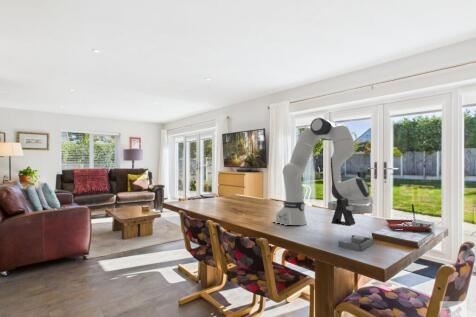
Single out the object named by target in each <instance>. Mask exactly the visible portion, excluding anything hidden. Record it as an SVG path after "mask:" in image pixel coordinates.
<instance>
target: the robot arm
mask: <svg viewBox="0 0 476 317" xmlns="http://www.w3.org/2000/svg"><path fill="white" fill-rule="evenodd" d="M348 127H349V126H348V125H345V124H335V123H333V122H332V121H331V120H328V119H326V118H324V117H316V118H314V119H313V120H312V121H311V123H310V126H306V127H305V128H304V129H303V130H302V132H301V134H300V135H299V137H298V139H297V141H296V143H295V146H294V148H293V151H292V154H291V158H290V160H289V163H287V164H285V165H284V166H283V169H282V174H283V175H282V176H283V183H284V188H285V201H284V202H283V207H282V208H281V209H279V211H277V212H276V214H275V219H274V220H275V221H274V222H277V223H281V224H284V225H283V226H285V225H300V226H305V224H306V225H307V224H308V222H307V220H306V214H305V201H304V187H303V182H302V177H303V175H304V173H305V171H306V168H307V166H308V163H309V160H310V157H311V155H312V153H313V151H314V149H315V147H316V145H317V142H318V141H319V140H322V141H331V143H332V146H333V153H332V155H331V157H330V174H331V194H332V197H333V199H335V200H331V201H328V202H327V209H329V210H334V211H335V210H336V206H337V200H338V199H341V198H347V199H348V200H349V202H348V204H349V206H347V207H346V210H351V212H352V215H357V214H373V204H374V200H373V197H372V196H371V195H370V188H369V184H368V183H367V181H366V180H364V179H363V178H362V177H360V176H356V177H352V178H350V179H346V180H343V181H342V173H341V168H342V167H343V164H344V163H345V162H347V161H348V159H350V158H351V157H352V156H353V155H354V153H355V151H356V146H355V145H356V144H355V142H354V141H355V140H354V138H353V136H352V133H351V131H350V129H349V128H348ZM340 210H342V209H341V207H340ZM277 223H276V224H277ZM281 224H280V225H281Z"/></svg>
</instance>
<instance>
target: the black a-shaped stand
mask: <svg viewBox="0 0 476 317" xmlns="http://www.w3.org/2000/svg"><path fill="white" fill-rule="evenodd" d="M336 201H337V206H336V210H335V209H334V214H333V217H332V220H331V224H332V225H338V226H339V225H341V226H346V227H351V226H355V225H356V221H355V218H354V214H352V212H351V210H346V207H347V206H349V204H348V202H349V200H348V199H347V198H341V199H338V200H337V199H336ZM340 207H341V209H342V210H340ZM342 217H343V218H342ZM342 219H344V221H343V220H342Z"/></svg>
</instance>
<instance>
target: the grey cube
mask: <svg viewBox="0 0 476 317" xmlns="http://www.w3.org/2000/svg"><path fill="white" fill-rule="evenodd" d="M365 237H366V236H362V237H361V235H355V236H354V237H352V236H351V243H353V244H358V245H360V244H362V243H363V242H365Z"/></svg>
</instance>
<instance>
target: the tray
mask: <svg viewBox="0 0 476 317" xmlns="http://www.w3.org/2000/svg"><path fill="white" fill-rule="evenodd" d="M354 236H356V234H352V235H351V238H352V237H354ZM360 236H361V235H360ZM361 237H363V236H361ZM364 237H365V242H363V243H362V244H360V245H358V244H353V243H352V242H348V241H347V242H346V241H343V240H342V241H341V240H338V241H337V242H338V247H339V248H341V249H347V250H351V251H357V252H362V251H364V250H366V249H367V248H369V247H370V246H372V245H374V243H375V242H374V237H373V238H372V237H368V236H364Z"/></svg>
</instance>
